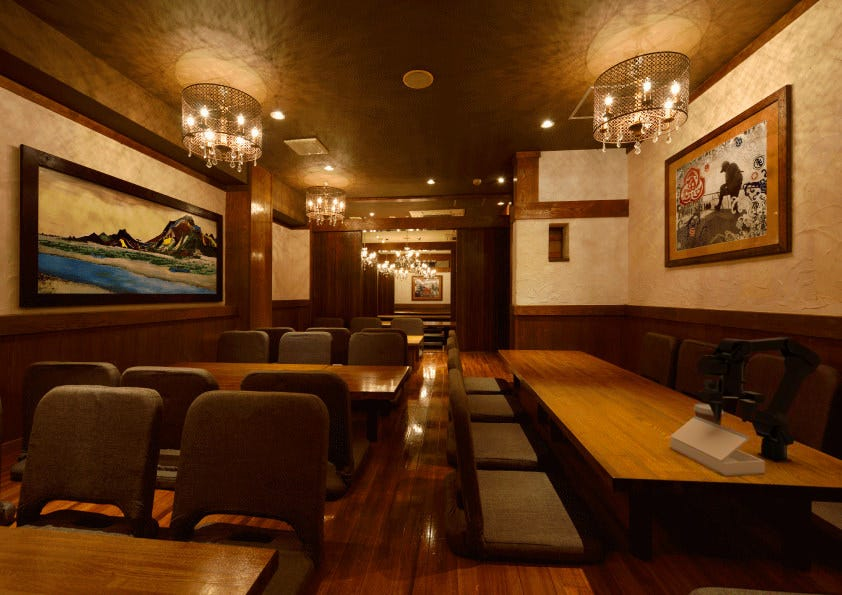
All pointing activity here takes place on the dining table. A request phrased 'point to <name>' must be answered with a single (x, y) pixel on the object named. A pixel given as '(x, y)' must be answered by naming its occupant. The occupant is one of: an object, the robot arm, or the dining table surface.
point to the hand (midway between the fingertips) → (730, 421)
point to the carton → (730, 466)
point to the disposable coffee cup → (706, 413)
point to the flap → (710, 438)
